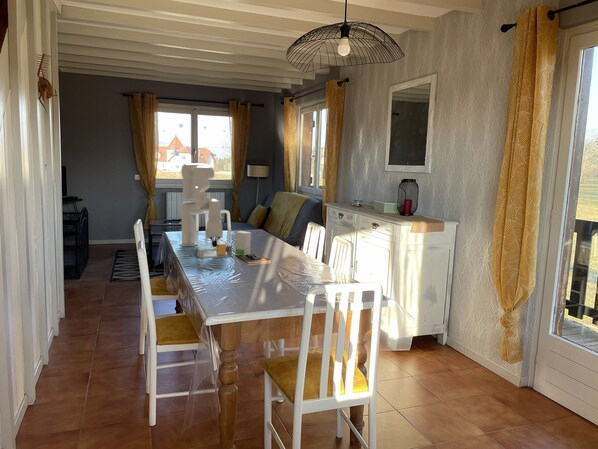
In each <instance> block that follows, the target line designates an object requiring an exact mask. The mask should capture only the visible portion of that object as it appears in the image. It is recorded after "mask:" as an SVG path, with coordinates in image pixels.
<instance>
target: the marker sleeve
mask: <svg viewBox="0 0 598 449" xmlns="http://www.w3.org/2000/svg"><path fill="white" fill-rule="evenodd" d="M226 246H227V244H226V243H225V242H217V246H216V247H215V248H218V251H215V252H216V254H217V255H226V253H227V252H226Z"/></svg>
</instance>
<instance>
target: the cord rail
mask: <svg viewBox="0 0 598 449" xmlns="http://www.w3.org/2000/svg"><path fill="white" fill-rule="evenodd" d="M232 249H233V246H232V245H231V244H226V255H217V254H216V253H215V252H216V251H218V248H216V247H212V248H202V247H197V254H196V255H197V257H198V258H200V259H209V258H210V259H211V258H224V257H226V258H227V257H228V258H229V257H234V255H233V250H232ZM205 252H214V253H205Z"/></svg>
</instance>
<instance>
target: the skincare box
mask: <svg viewBox="0 0 598 449" xmlns="http://www.w3.org/2000/svg"><path fill="white" fill-rule="evenodd" d="M251 241H252V232H251V231H243V230H239V231H235V246H234V250H235V251H234V255H235V256H239V255H247V254H250V255H251V243H252V242H251Z"/></svg>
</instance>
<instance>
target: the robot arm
mask: <svg viewBox="0 0 598 449" xmlns="http://www.w3.org/2000/svg"><path fill="white" fill-rule="evenodd" d="M180 171H181V177H182V182H183V183H182V197H183V199H184V200H186V201H183V202H181V204H180V206H179V209H180V210H179V211H180V215H181V242H179V246H182V247H193V246H194V247H195V246H197V245H198V242H196V221H195V220H196V219H195V217H193V215H202V214H204V212H205V211H208V220H207V221H206V226H205V227H206V228H205V229H206V230H205V235H206V236H205V238H206V239H209V240H211V246H212V248H216V246H217V243H218V241H219V239H222V238H223V235H224V234H223V233H224V232H223V230H224V229H223V223H222V220H223V218H224V217H223V216H222V215H221V209H222V208H221V205H222V204H221V200H218V199H216V198H206V191H207V190H209V188H210V187H211V184H210V181H209V179H211V180H212V179H214V177H215V169H214V168H213V167H212V166H211V165H209V164H207V163H206V164H205V163H193V162H191V163H184V164H183V165H182V166H181V170H180ZM191 200H192V201H191Z"/></svg>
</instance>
